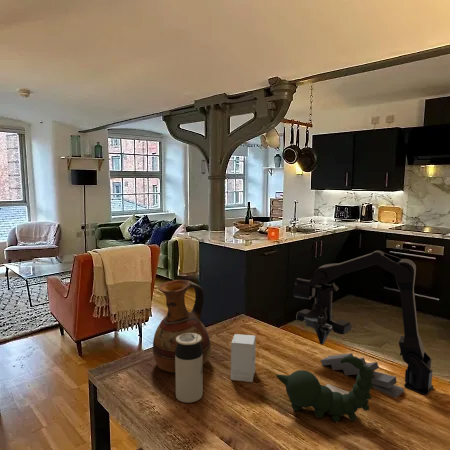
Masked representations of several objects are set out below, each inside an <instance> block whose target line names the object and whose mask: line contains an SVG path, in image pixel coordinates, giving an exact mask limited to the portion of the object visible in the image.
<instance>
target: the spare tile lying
mask: <svg viewBox="0 0 450 450" xmlns="http://www.w3.org/2000/svg"><path fill="white" fill-rule="evenodd" d="M325 386H327V387H328V388H330V389H331V391H332V392H339V393H341V394H343V395H344V394H348V393H349V392H350V391H347V390H345V389H342V388H339V387H337V386H334V385H332V384H329V383H327V384H326V385H325Z"/></svg>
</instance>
